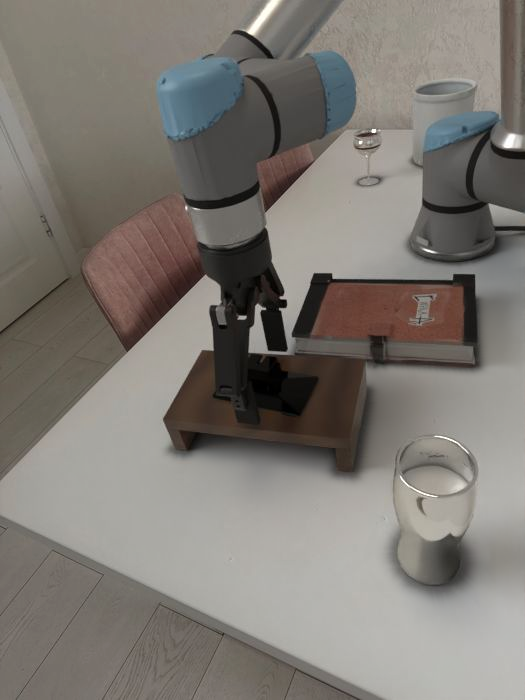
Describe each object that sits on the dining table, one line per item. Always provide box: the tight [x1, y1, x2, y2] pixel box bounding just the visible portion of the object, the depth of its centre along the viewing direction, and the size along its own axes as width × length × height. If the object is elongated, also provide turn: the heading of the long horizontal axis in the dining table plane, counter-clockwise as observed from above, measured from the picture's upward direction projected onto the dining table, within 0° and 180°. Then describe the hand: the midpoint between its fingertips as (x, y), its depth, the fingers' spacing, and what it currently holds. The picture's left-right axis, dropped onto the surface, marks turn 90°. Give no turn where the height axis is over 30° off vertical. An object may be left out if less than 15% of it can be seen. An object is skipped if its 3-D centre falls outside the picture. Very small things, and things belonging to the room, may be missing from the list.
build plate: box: [212, 352, 318, 417], centre depth 64 cm, size 12×7×5 cm, turn 66°
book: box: [291, 272, 479, 368], centre depth 79 cm, size 26×18×5 cm
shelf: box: [162, 349, 368, 473], centre depth 67 cm, size 24×14×6 cm, turn 74°
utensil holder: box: [411, 77, 478, 167], centre depth 126 cm, size 15×15×18 cm
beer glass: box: [392, 433, 479, 586], centre depth 46 cm, size 7×7×15 cm
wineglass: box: [353, 127, 383, 186], centre depth 124 cm, size 7×7×12 cm
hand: (264, 383), depth 64 cm, fingers open, 13 cm apart
